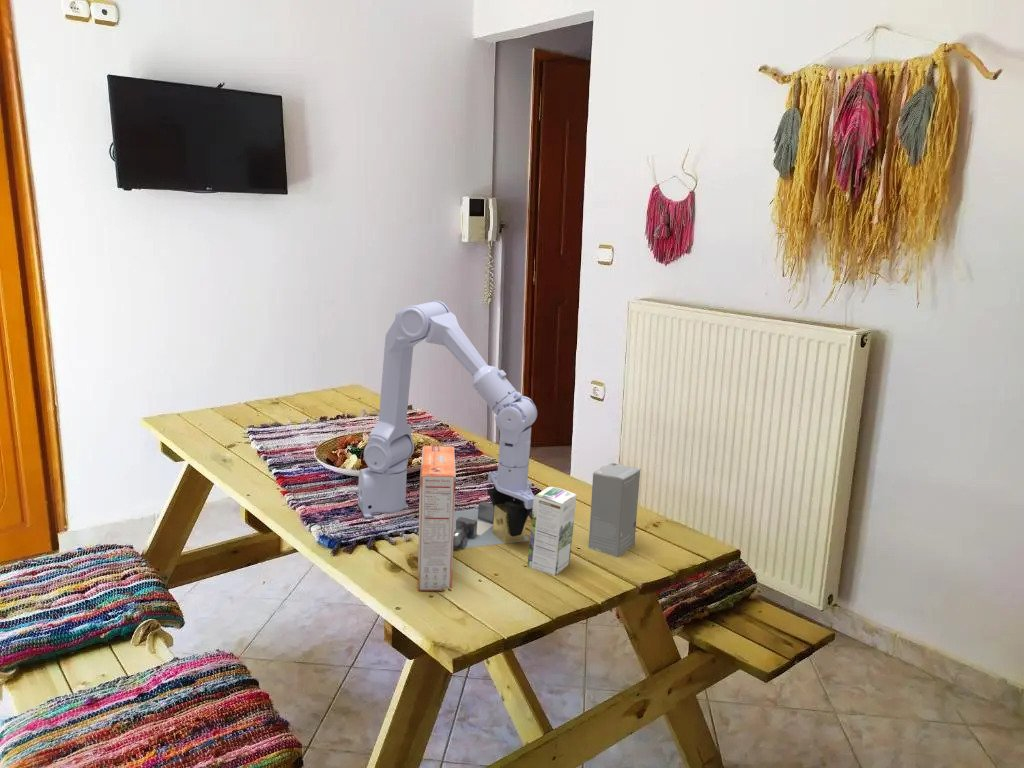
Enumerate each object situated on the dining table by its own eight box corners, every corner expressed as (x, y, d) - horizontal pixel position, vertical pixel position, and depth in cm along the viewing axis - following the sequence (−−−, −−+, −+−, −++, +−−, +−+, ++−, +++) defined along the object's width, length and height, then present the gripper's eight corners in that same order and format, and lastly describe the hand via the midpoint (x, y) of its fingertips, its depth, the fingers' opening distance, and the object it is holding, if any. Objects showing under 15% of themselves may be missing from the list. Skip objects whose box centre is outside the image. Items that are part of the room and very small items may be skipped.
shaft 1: (459, 532, 153) (459, 516, 152) (476, 535, 152) (477, 520, 151) (443, 547, 146) (444, 531, 145) (461, 551, 145) (462, 535, 144)
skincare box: (618, 561, 147) (626, 481, 143) (583, 550, 151) (590, 471, 147) (636, 545, 154) (645, 468, 150) (603, 534, 158) (610, 459, 154)
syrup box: (541, 558, 146) (547, 484, 143) (570, 567, 143) (577, 492, 140) (526, 570, 141) (532, 494, 138) (556, 580, 139) (562, 502, 135)
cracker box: (417, 553, 145) (421, 444, 140) (451, 553, 146) (456, 445, 141) (415, 592, 132) (419, 473, 126) (451, 592, 132) (457, 474, 127)
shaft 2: (492, 523, 157) (493, 508, 157) (477, 518, 159) (478, 503, 158) (513, 512, 163) (514, 497, 163) (499, 507, 165) (499, 493, 164)
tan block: (502, 543, 149) (504, 514, 148) (490, 534, 153) (492, 505, 151) (526, 538, 152) (528, 509, 150) (514, 529, 156) (516, 500, 154)
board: (449, 553, 146) (449, 548, 146) (426, 517, 160) (426, 513, 160) (530, 544, 152) (530, 539, 151) (501, 510, 166) (501, 506, 166)
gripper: (553, 472, 145) (547, 541, 148) (511, 447, 157) (507, 511, 160) (519, 478, 141) (514, 548, 144) (480, 452, 153) (476, 517, 156)
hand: (508, 529), depth 152 cm, fingers closed on tan block, 4 cm apart
